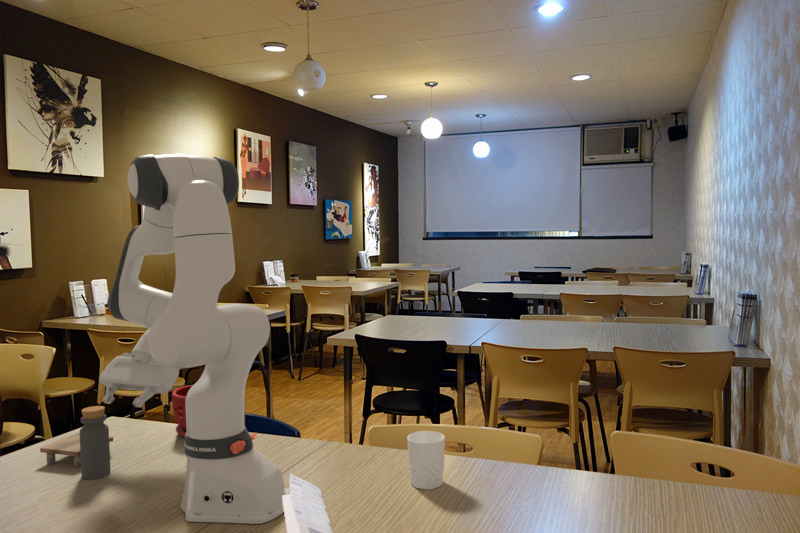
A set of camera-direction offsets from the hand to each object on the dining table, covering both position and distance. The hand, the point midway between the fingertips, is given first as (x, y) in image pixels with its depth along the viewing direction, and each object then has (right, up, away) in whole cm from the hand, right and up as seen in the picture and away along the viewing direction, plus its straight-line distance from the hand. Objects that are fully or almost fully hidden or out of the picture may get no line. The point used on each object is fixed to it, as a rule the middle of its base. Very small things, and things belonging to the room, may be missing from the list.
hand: (121, 404), depth 144 cm
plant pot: (+11, -13, +21) cm, 28 cm away
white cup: (+71, -14, -15) cm, 74 cm away
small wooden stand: (-12, -14, +4) cm, 19 cm away
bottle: (-3, -15, -7) cm, 16 cm away
